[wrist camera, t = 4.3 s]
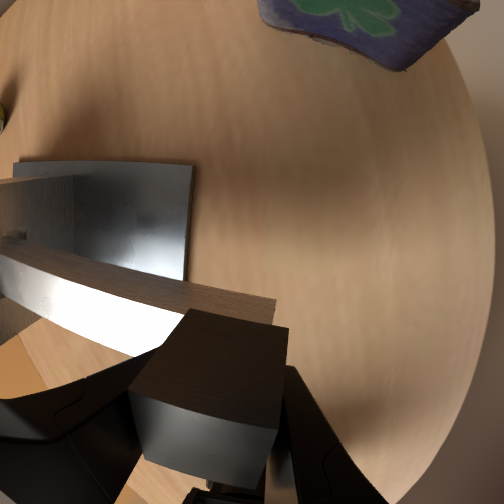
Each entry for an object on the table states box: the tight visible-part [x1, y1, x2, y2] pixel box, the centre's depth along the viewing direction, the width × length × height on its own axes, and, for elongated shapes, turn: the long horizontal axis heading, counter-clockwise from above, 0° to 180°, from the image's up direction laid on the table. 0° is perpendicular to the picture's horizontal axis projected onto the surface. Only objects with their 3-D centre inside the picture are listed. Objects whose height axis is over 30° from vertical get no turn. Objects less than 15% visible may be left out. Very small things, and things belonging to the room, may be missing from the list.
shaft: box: [0, 234, 289, 490], centre depth 9 cm, size 18×3×6 cm, turn 82°
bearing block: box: [0, 160, 196, 346], centre depth 13 cm, size 18×11×10 cm, turn 82°
